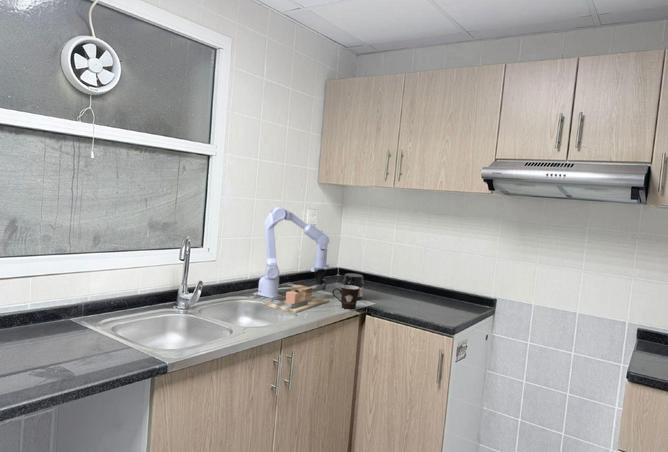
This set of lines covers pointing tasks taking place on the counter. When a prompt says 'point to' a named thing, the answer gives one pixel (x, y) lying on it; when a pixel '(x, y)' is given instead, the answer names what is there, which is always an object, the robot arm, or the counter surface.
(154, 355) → the counter surface
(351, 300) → the coffee mug
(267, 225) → the robot arm
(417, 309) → the counter surface
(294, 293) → the block
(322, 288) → the shaft
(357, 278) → the supplement container
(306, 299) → the stand
